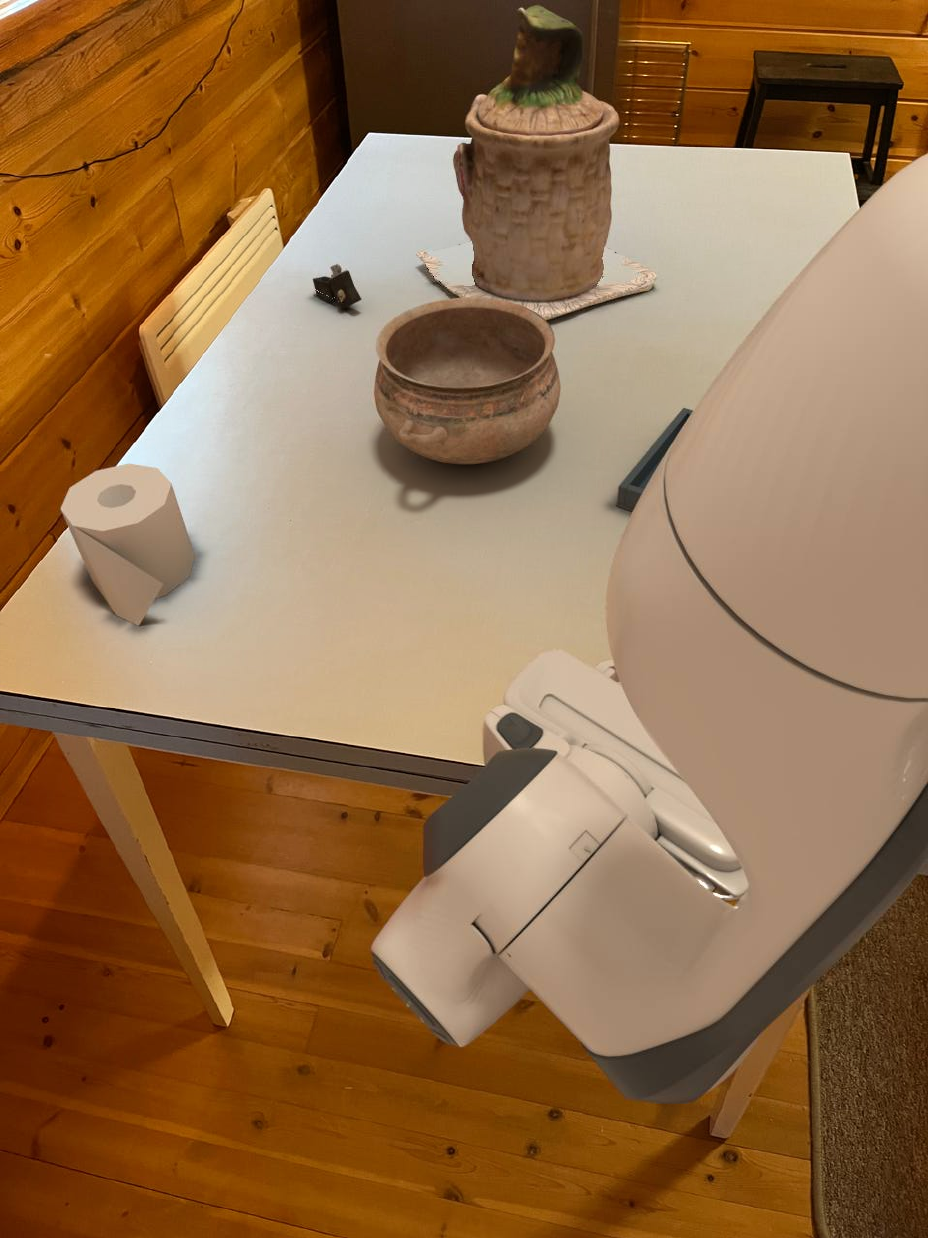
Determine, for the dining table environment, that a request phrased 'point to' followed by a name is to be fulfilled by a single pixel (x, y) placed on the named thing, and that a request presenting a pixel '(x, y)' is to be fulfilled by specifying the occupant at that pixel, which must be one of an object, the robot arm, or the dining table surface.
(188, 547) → the toilet tissue
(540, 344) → the cooking pot
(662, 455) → the tray
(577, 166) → the cookie jar
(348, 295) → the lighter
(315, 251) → the dining table surface
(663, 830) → the robot arm
